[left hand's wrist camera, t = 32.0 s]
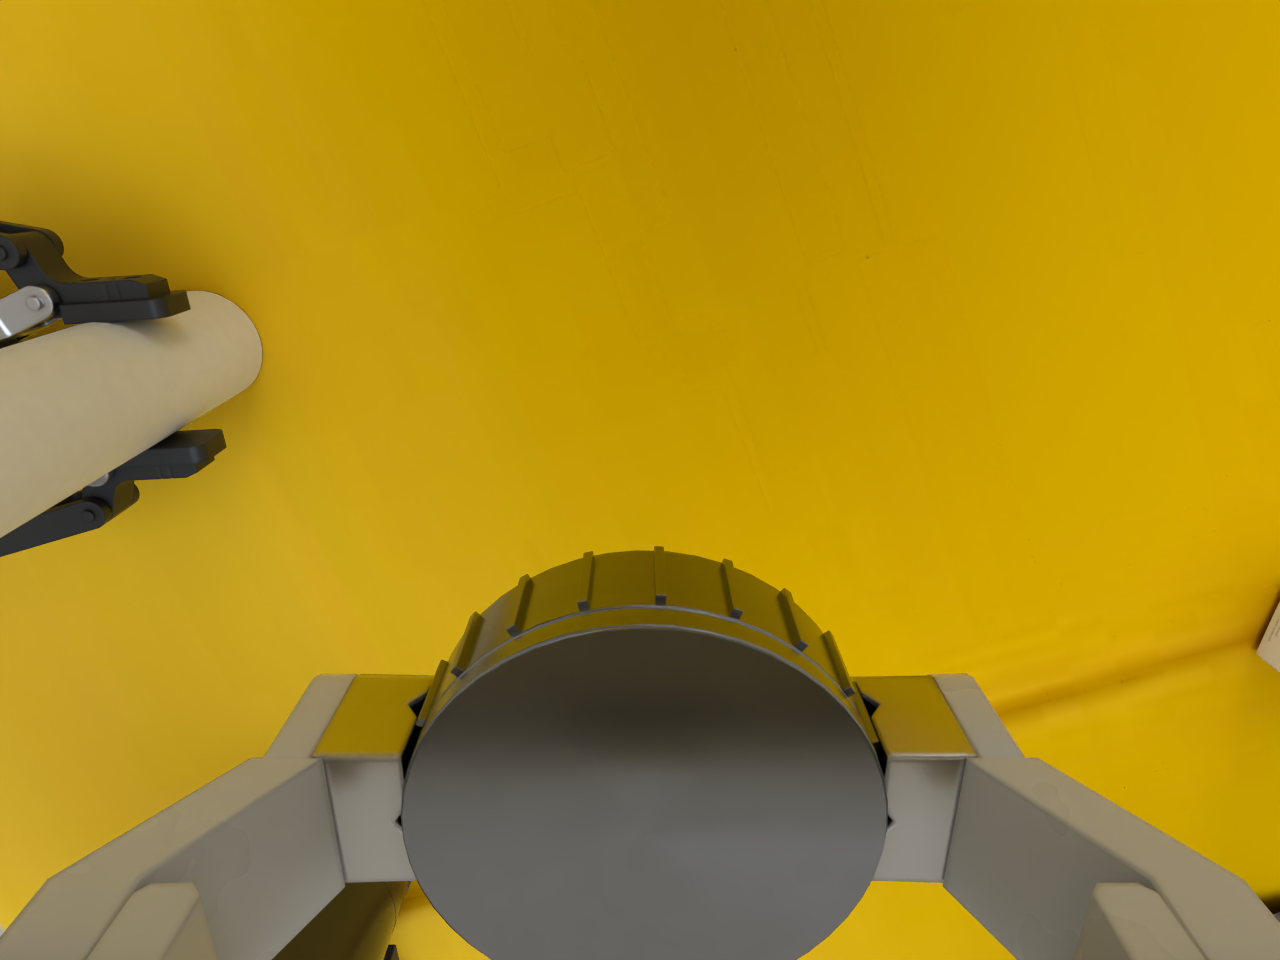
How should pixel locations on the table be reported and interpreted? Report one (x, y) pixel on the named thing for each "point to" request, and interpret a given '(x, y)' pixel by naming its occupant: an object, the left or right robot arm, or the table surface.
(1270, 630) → the ink box
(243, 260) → the table surface
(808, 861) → the lid
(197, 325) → the cream cylinder
